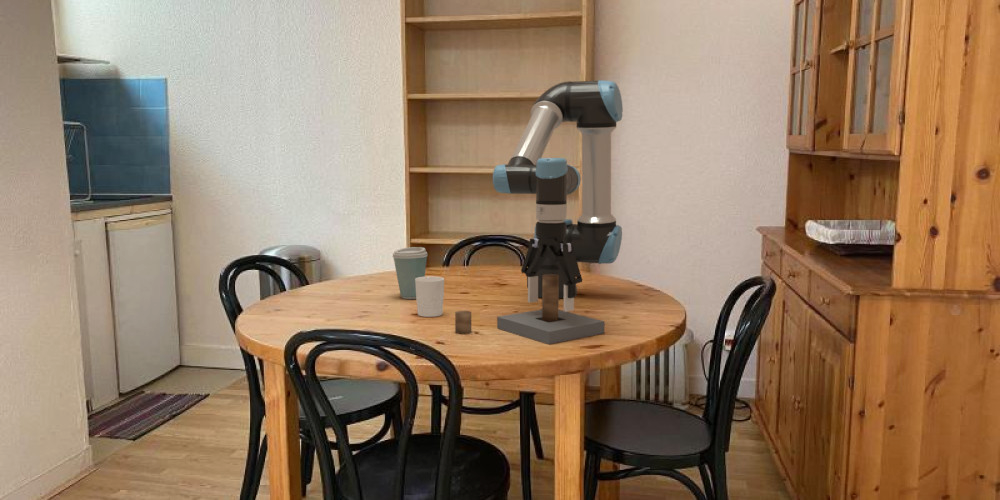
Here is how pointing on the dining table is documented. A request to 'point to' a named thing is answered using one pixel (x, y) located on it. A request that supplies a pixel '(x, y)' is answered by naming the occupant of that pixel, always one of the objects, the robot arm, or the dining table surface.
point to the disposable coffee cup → (409, 269)
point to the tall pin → (550, 297)
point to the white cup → (429, 296)
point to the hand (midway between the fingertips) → (550, 306)
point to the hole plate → (550, 326)
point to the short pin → (463, 322)
